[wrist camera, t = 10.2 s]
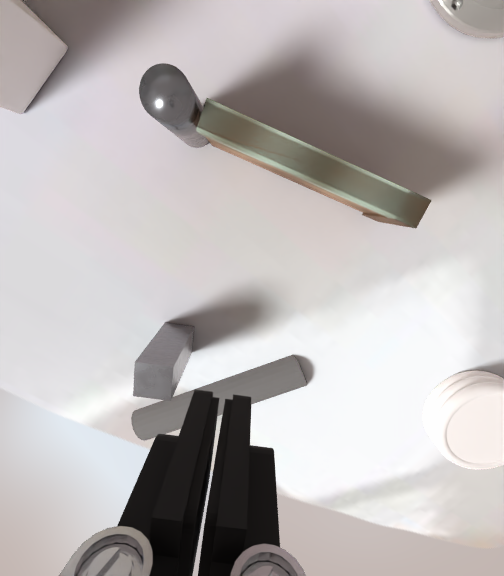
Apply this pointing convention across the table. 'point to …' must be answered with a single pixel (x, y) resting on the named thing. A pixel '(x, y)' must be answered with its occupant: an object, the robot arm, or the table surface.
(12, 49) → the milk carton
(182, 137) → the gate posts
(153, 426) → the half round rod
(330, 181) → the wooden board
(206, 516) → the robot arm
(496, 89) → the table surface
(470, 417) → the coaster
